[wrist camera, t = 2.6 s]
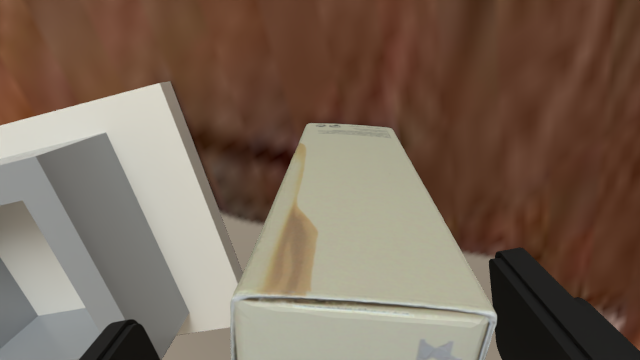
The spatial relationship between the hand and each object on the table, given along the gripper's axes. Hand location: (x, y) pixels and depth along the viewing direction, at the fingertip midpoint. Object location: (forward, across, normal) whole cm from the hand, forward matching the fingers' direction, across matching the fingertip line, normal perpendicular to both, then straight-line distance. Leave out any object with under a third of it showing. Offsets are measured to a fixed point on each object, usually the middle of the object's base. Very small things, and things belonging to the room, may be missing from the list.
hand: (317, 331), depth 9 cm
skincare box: (+10, -1, 0) cm, 10 cm away
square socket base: (+10, +15, 0) cm, 18 cm away
